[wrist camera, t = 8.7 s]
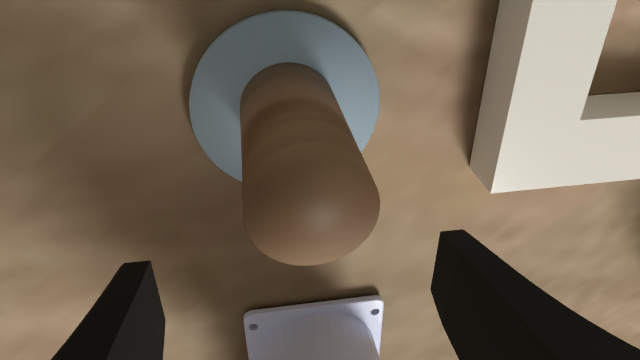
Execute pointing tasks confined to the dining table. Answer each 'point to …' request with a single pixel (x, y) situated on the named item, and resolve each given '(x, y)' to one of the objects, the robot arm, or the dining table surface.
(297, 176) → the walnut dowel
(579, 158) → the holder block
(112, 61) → the dining table surface
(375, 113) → the coaster
